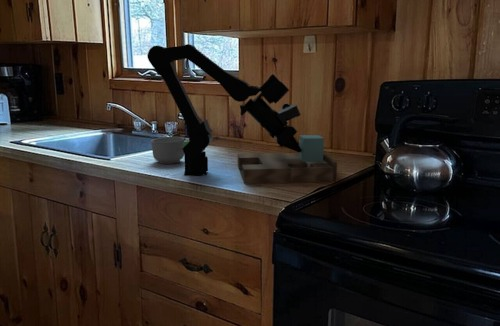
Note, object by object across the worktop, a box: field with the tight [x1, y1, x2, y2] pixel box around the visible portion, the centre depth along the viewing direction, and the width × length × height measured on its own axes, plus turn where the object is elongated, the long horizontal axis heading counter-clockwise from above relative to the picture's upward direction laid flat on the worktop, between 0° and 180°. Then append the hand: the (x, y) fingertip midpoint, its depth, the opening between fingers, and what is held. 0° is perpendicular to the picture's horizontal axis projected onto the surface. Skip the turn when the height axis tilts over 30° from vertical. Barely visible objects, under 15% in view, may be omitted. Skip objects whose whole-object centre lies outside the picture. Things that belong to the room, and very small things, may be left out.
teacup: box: [150, 136, 185, 165], centre depth 156 cm, size 14×11×8 cm
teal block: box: [298, 134, 325, 162], centre depth 140 cm, size 6×6×7 cm
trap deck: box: [237, 152, 338, 185], centre depth 140 cm, size 26×22×6 cm
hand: (300, 151), depth 139 cm, fingers closed, pressing on teal block
